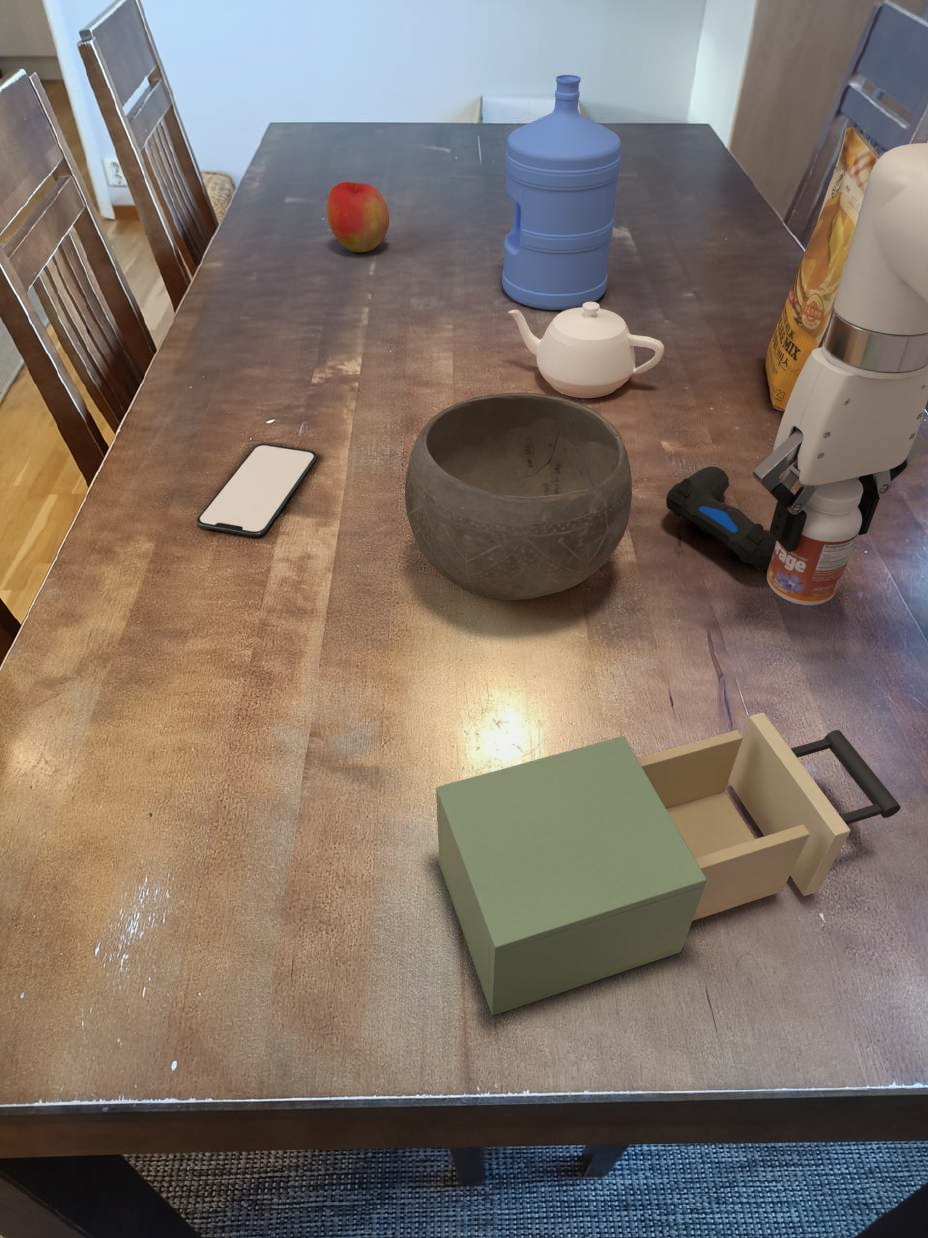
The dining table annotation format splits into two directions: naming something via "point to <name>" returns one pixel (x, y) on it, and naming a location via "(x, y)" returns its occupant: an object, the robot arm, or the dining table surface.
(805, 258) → the pancake mix bag
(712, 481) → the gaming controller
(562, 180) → the water jug
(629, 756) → the cabinet
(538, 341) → the teapot
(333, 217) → the apple
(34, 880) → the dining table surface
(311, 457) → the smartphone
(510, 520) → the bowl
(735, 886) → the drawer
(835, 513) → the pill bottle
